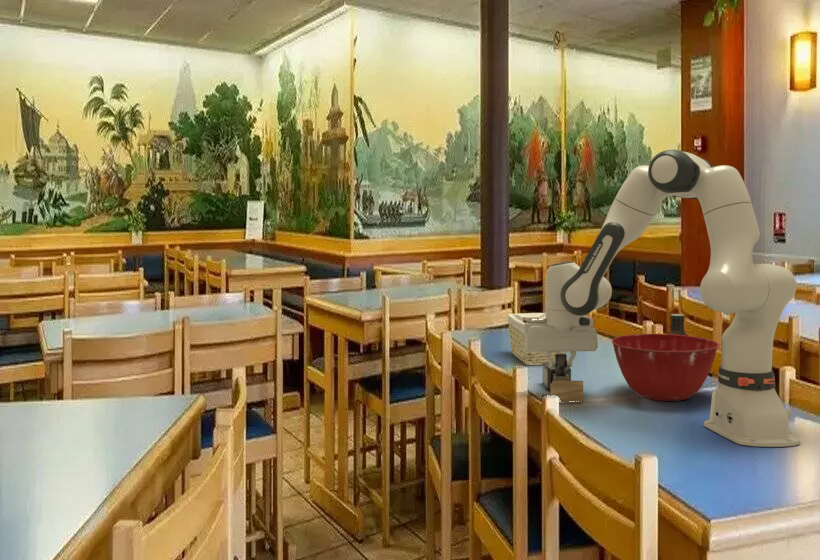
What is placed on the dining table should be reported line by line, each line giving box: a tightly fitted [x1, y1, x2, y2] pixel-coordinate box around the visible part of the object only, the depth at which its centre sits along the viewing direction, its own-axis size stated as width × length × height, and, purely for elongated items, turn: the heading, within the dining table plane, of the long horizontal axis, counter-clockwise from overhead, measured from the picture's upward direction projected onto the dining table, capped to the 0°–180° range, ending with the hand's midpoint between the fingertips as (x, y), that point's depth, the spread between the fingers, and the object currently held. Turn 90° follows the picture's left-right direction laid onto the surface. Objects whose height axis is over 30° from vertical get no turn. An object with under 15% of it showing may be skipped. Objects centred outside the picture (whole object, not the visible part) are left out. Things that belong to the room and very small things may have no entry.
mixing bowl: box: [610, 333, 720, 402], centre depth 207 cm, size 28×28×15 cm
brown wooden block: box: [550, 380, 584, 403], centre depth 202 cm, size 4×8×6 cm, turn 88°
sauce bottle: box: [667, 313, 687, 336], centre depth 225 cm, size 6×6×20 cm
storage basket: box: [507, 312, 568, 366], centre depth 258 cm, size 24×16×15 cm
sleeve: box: [542, 362, 572, 391], centre depth 219 cm, size 9×7×6 cm
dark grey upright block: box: [551, 353, 569, 383], centre depth 215 cm, size 12×4×10 cm, turn 178°
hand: (560, 366), depth 211 cm, fingers closed on dark grey upright block, 3 cm apart
